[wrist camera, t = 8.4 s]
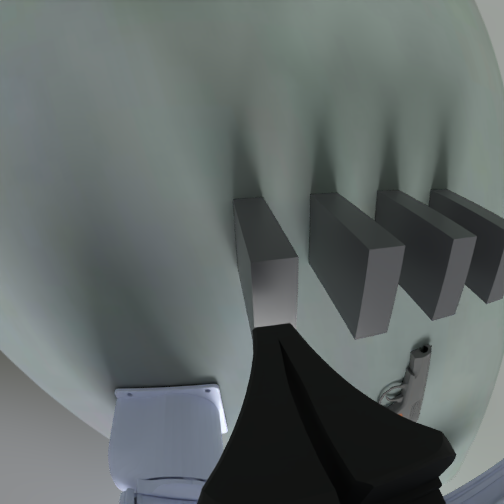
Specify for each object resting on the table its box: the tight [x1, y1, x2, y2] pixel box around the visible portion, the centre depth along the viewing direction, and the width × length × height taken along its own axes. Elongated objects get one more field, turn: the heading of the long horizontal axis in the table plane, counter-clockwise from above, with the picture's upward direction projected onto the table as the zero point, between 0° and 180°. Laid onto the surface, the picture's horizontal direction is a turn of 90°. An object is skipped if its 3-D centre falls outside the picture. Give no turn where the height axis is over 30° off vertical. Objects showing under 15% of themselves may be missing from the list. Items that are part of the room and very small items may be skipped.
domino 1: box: [233, 197, 298, 339], centre depth 16 cm, size 2×5×8 cm, turn 2°
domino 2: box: [309, 193, 405, 340], centre depth 17 cm, size 2×5×8 cm, turn 2°
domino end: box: [429, 189, 504, 304], centre depth 18 cm, size 2×5×8 cm, turn 2°
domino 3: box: [375, 190, 477, 321], centre depth 17 cm, size 2×5×8 cm, turn 2°
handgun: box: [378, 344, 432, 422], centre depth 31 cm, size 2×16×12 cm
